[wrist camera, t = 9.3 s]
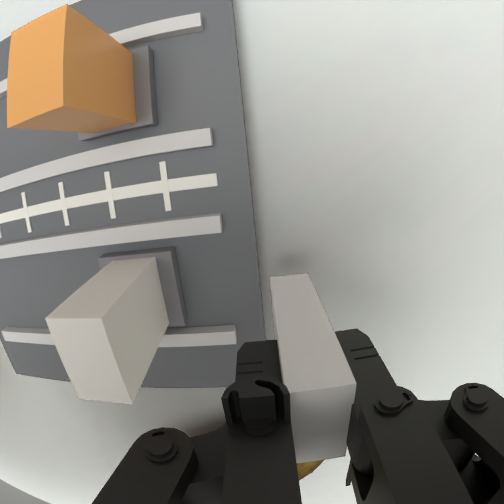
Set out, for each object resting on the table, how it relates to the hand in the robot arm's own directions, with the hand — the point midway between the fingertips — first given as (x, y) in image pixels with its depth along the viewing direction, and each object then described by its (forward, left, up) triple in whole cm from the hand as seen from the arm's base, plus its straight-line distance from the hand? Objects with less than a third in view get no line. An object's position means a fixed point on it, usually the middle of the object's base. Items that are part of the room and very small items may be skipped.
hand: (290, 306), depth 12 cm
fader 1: (-7, +10, -3) cm, 13 cm away
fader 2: (-7, 0, -3) cm, 8 cm away
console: (-11, +5, -6) cm, 13 cm away
